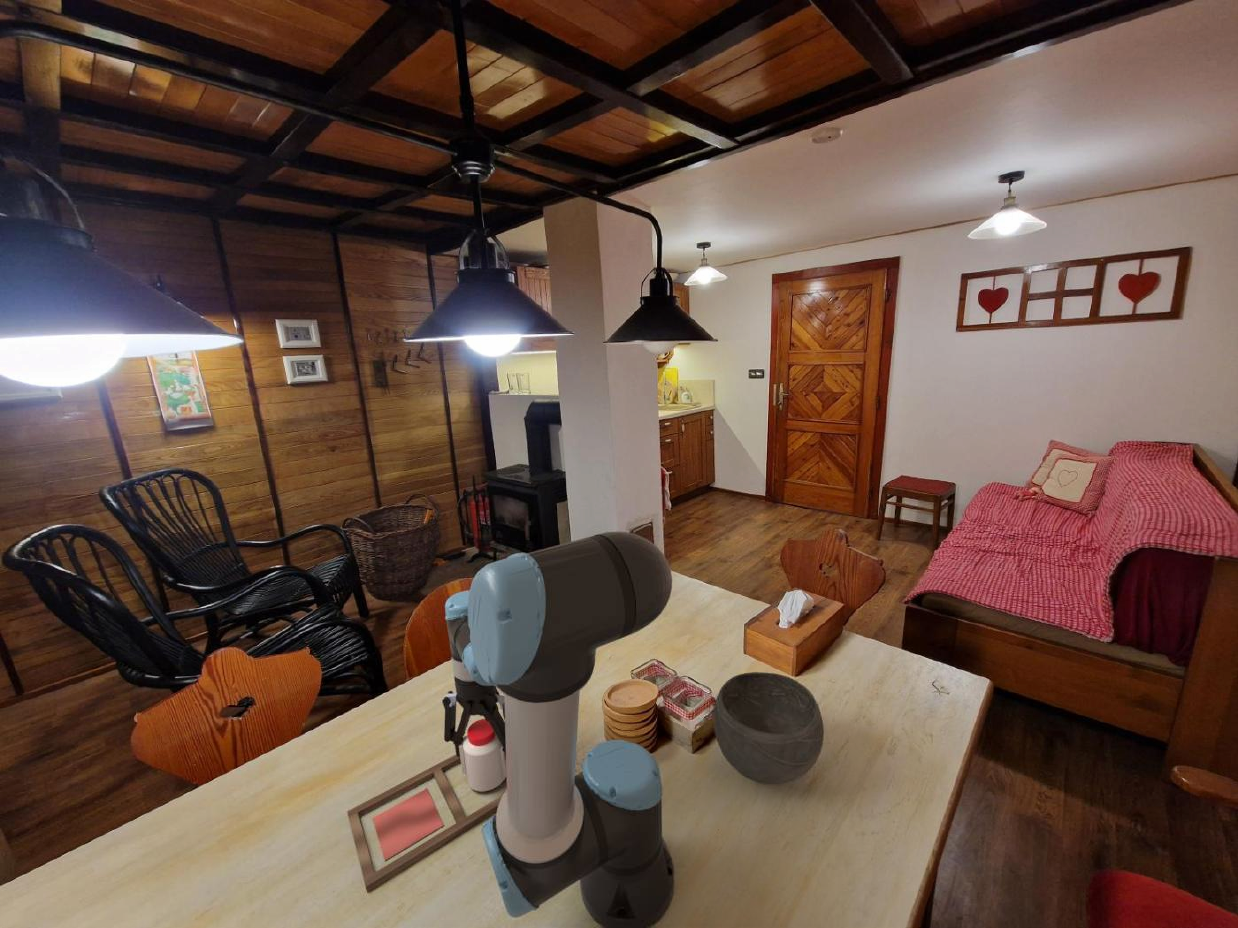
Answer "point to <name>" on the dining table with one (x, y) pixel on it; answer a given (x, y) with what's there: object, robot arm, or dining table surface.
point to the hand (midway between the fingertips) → (486, 769)
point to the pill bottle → (482, 757)
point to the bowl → (768, 727)
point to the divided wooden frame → (411, 823)
